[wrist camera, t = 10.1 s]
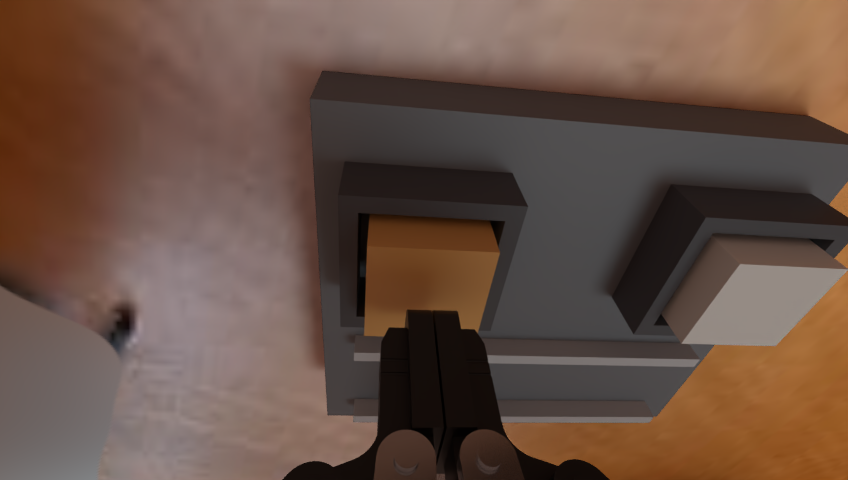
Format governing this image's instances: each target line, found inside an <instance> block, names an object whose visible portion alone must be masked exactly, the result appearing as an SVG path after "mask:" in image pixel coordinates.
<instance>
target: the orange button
mask: <svg viewBox="0 0 848 480" xmlns="http://www.w3.org/2000/svg"><path fill="white" fill-rule="evenodd" d="M499 255H500V251H499V248H498V245H497V242H496V238H495V235H494V232H493V229H492V226H491V223H490V220H475V219H457V218H440V217H422V216H404V215H387V214H370V216H369V229H368V241H367V265H366V295H365V326H364V336H385V334H386V332H387V330H388V328H389V327H395V328H404V327H405V318H406V311H407V309H411V310H431V311H432V310H450V311H458V314H459V319H460V325H461V329H475V331H476V332H477V333H478V330H479V327H480V323H481V319H482V316H483V312H484V309H485V305H486V301H487V298H488V294H489V291H490V287H491V283H492V280H493V276H494V273H495V269H496V265H497V262H498V258H499Z"/></svg>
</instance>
